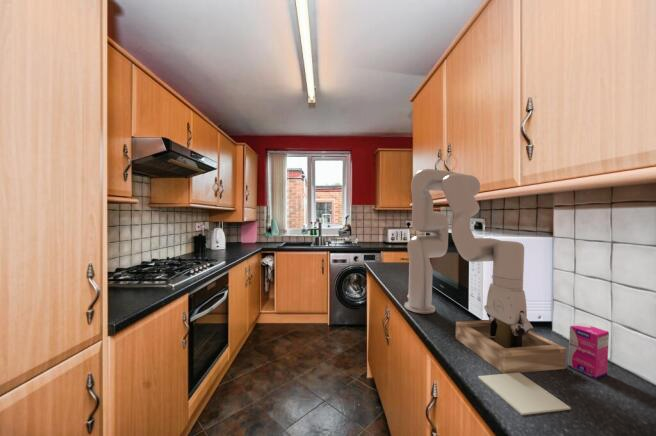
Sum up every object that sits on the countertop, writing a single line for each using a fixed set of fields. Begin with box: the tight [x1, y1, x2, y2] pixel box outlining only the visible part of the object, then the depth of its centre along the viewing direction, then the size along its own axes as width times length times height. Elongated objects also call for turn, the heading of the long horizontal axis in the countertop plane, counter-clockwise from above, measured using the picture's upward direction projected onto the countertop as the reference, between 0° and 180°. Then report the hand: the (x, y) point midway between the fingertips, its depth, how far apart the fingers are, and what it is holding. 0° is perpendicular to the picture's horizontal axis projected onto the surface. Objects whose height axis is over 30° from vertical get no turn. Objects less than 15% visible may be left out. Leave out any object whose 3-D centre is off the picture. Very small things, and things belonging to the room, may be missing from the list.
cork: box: [493, 319, 513, 348], centre depth 76 cm, size 6×6×11 cm
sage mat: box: [477, 372, 572, 416], centre depth 59 cm, size 12×12×1 cm
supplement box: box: [567, 322, 610, 380], centre depth 68 cm, size 6×6×12 cm
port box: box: [455, 319, 567, 374], centre depth 76 cm, size 19×19×6 cm
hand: (505, 341), depth 76 cm, fingers open, 6 cm apart
